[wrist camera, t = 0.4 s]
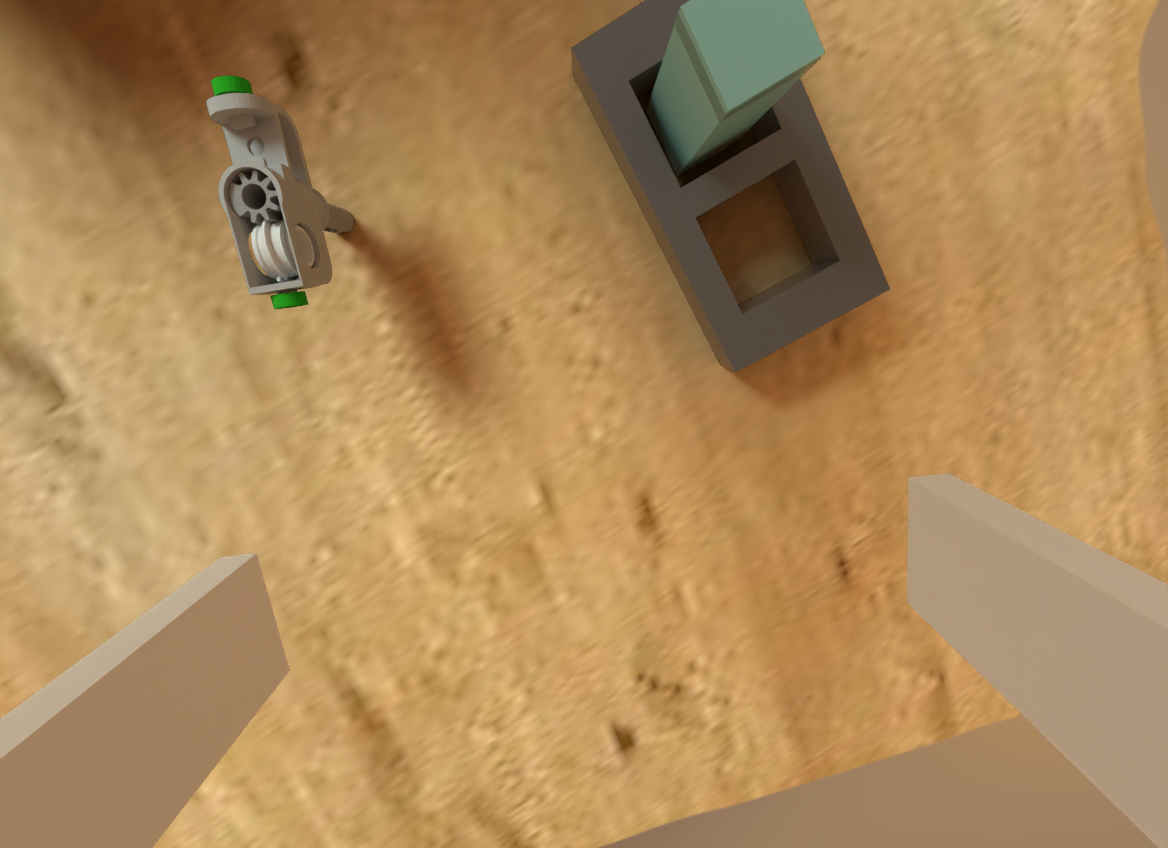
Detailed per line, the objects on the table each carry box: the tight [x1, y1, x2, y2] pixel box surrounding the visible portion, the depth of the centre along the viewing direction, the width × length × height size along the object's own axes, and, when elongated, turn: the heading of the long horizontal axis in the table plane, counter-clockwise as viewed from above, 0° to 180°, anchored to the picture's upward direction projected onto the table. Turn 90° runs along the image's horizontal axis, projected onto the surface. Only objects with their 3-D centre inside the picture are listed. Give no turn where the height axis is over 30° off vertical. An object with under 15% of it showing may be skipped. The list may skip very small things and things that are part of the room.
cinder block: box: [571, 0, 890, 373], centre depth 33 cm, size 20×10×4 cm, turn 29°
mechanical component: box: [206, 76, 354, 309], centre depth 31 cm, size 3×10×10 cm, turn 9°
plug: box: [646, 0, 825, 176], centre depth 28 cm, size 4×4×13 cm
